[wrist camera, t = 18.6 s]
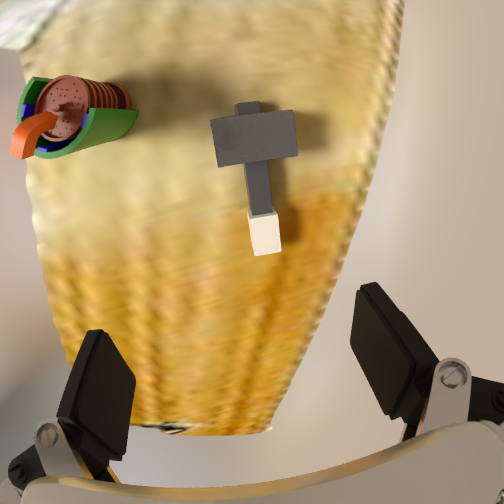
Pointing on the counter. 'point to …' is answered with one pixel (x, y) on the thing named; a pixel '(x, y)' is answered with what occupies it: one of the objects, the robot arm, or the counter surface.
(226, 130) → the housing
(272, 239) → the plug
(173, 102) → the counter surface
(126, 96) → the motor
